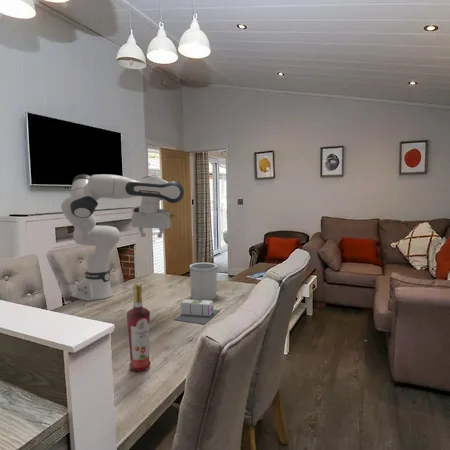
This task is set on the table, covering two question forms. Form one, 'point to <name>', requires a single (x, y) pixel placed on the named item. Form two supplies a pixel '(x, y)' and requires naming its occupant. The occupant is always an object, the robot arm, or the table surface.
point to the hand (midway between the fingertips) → (151, 237)
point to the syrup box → (196, 307)
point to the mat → (196, 318)
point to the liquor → (138, 332)
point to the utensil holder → (203, 281)
